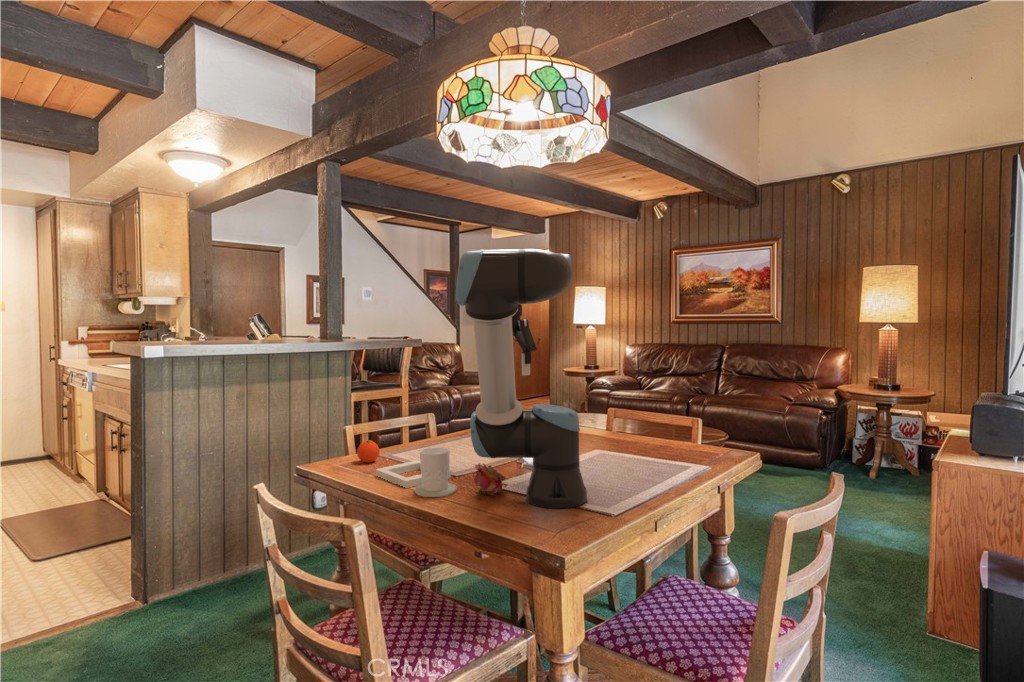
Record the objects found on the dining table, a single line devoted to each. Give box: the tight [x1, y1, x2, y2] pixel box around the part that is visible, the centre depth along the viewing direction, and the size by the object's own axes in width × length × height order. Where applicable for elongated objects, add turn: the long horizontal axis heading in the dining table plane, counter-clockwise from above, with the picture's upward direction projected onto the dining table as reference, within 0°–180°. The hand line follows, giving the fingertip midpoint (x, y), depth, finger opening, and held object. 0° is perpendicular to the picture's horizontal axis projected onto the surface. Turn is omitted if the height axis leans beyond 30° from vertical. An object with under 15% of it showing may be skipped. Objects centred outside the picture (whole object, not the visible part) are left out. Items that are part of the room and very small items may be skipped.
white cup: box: [419, 446, 451, 491], centre depth 146 cm, size 8×8×10 cm
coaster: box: [414, 482, 457, 498], centre depth 146 cm, size 11×11×1 cm
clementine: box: [356, 439, 380, 464], centre depth 178 cm, size 8×7×7 cm
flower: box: [472, 462, 509, 497], centre depth 143 cm, size 10×9×8 cm
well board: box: [375, 459, 452, 489], centre depth 160 cm, size 17×15×2 cm
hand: (510, 373), depth 168 cm, fingers open, 13 cm apart
